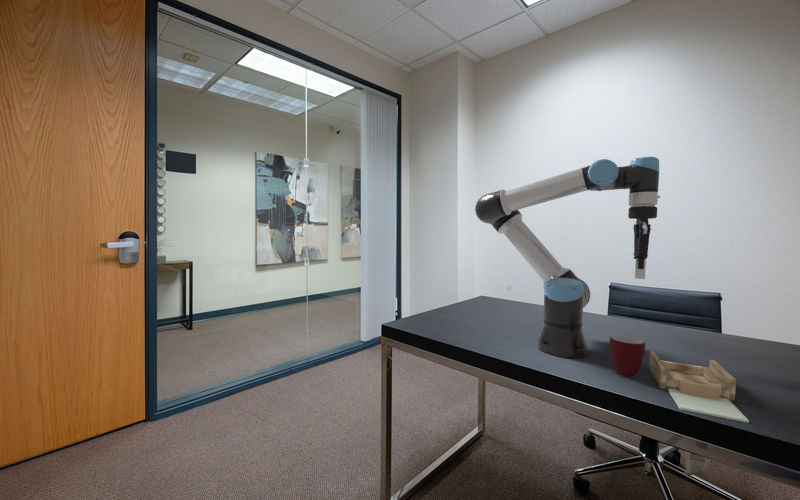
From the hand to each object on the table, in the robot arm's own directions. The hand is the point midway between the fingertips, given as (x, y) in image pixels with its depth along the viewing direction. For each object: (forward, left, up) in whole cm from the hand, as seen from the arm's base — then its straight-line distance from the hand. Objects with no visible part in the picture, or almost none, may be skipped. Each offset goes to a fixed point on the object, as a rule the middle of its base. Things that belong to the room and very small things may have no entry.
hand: (639, 278), depth 108 cm
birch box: (+8, -22, -24) cm, 34 cm away
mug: (-6, -22, -25) cm, 33 cm away
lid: (+8, -34, -25) cm, 43 cm away
